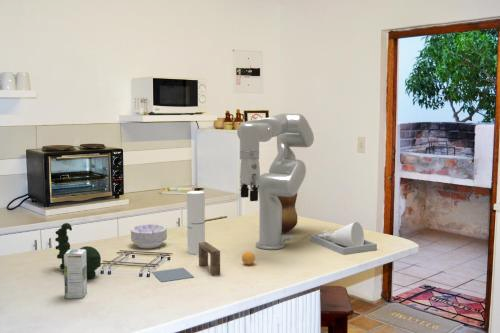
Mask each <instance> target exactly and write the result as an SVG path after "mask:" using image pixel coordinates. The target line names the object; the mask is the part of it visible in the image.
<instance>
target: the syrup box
mask: <svg viewBox="0 0 500 333" xmlns="http://www.w3.org/2000/svg"><path fill="white" fill-rule="evenodd" d="M63 271H64V272H63V273H64V274H63V275H64V276H63V278H64V299H67V300H68V299H84V297H85V295H87V292H88V286H87V285H88V281H87V280H88V279H87V263H86V250H84V249H80V248H70V250H68V251H67V252H66V253H65V254H64V269H63Z"/></svg>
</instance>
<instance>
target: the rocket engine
mask: <svg viewBox="0 0 500 333" xmlns="http://www.w3.org/2000/svg"><path fill="white" fill-rule="evenodd" d="M328 233H329V234H328ZM331 233H332V234H331ZM320 234H321V235H318V237H324V240H326V241H328V242H331V243H334V244H336V245H338V246H342V247H345V248H346V247H353V246H361V245H363V244H364V240H365V233H364V228H363V226H362V225H361V223H359V221H354V222H352V223H349V224H346V225H344V226H342V227H340V228H338V229H336V230H335V231H333V232H330V231H327V230H326V229H324V230H322V233H320Z"/></svg>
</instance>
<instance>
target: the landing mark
mask: <svg viewBox="0 0 500 333" xmlns="http://www.w3.org/2000/svg"><path fill="white" fill-rule="evenodd" d="M151 274H153V275H154V277H155V278H157V280H158V281H160V283H166V282H172V281H179V280H186V279H192V278H193V279H194V278H195V276H194V275H193V274H192V273H190V272H189V271H188V269H186V268H184V267H179V268H172V269H170V268H169V269H164V270H156V271H151Z"/></svg>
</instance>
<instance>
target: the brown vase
mask: <svg viewBox="0 0 500 333" xmlns="http://www.w3.org/2000/svg"><path fill="white" fill-rule="evenodd" d="M277 197H278V199H279V200H280V202H281V205H282V233H287V232H289V231H291V230H293V229H295V227H296V226H297V225H298V213H297V208H296V203H297V199H298V198H297V197H298V192H297V193H296V194H295V195H294V196H292V197H283V196H277Z"/></svg>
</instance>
